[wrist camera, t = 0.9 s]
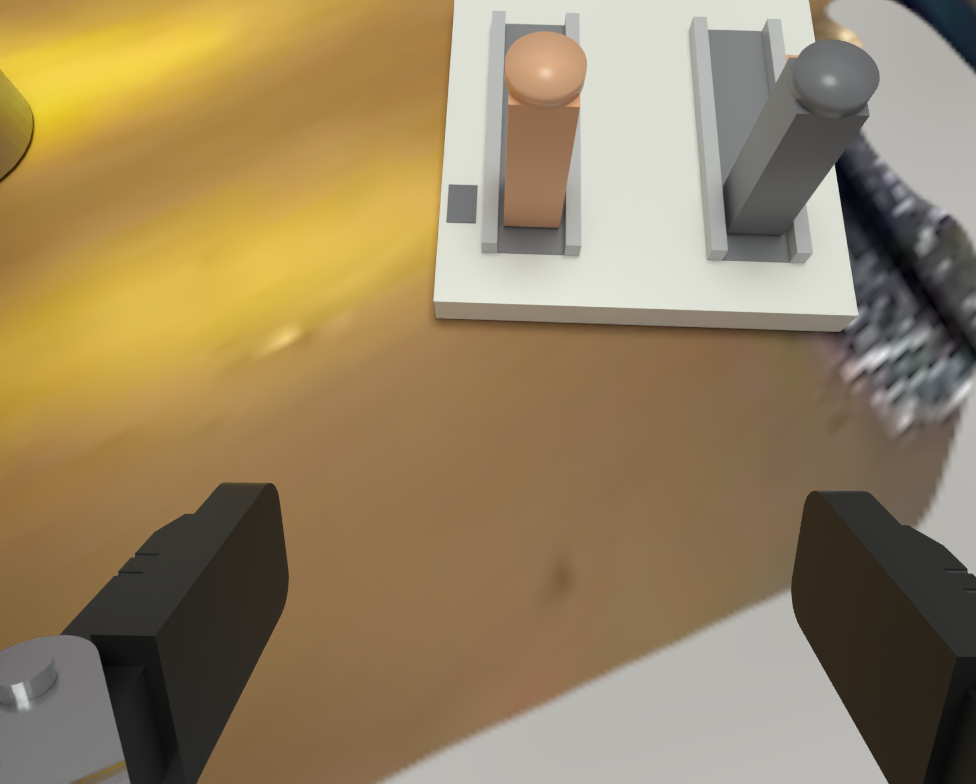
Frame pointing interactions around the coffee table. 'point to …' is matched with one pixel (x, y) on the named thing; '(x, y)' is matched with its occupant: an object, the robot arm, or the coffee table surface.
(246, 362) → the coffee table surface
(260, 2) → the coffee table surface
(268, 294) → the coffee table surface
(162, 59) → the coffee table surface
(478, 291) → the switch panel
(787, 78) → the dark grey upright bar
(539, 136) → the tan switch lever
